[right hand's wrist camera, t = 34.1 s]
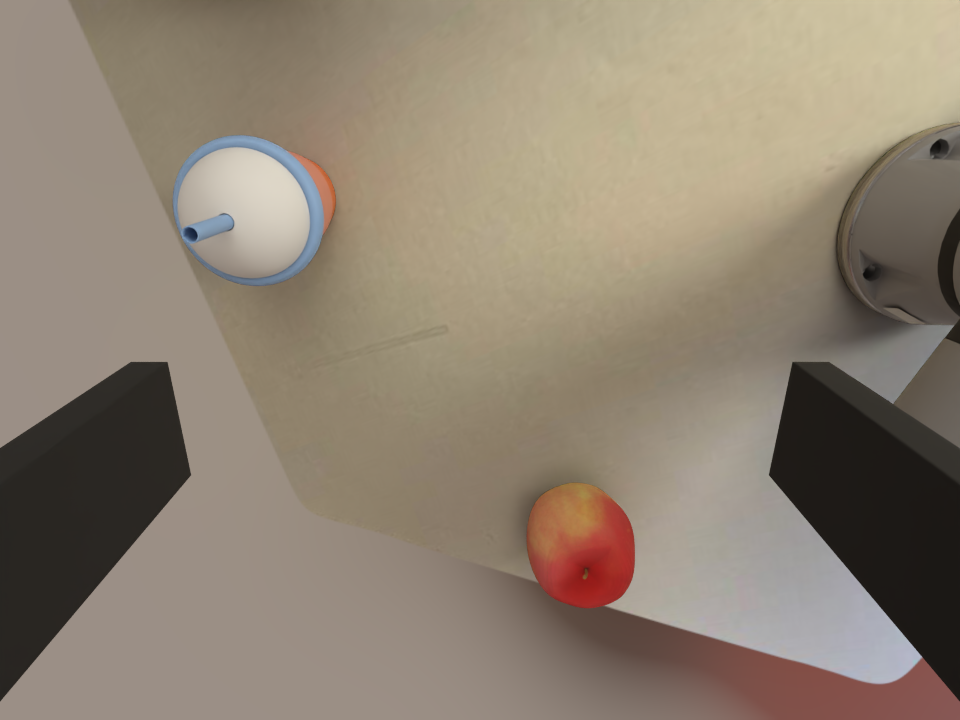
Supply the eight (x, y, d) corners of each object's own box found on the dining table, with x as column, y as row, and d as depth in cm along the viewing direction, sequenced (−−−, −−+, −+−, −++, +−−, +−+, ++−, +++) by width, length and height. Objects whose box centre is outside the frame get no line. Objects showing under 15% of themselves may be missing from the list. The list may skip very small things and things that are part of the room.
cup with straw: (245, 254, 47) (116, 321, 30) (230, 133, 44) (75, 134, 27) (358, 256, 47) (291, 324, 30) (351, 135, 44) (272, 137, 27)
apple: (639, 485, 55) (671, 557, 46) (589, 559, 58) (610, 640, 49) (548, 447, 54) (562, 513, 44) (503, 525, 57) (507, 602, 47)
